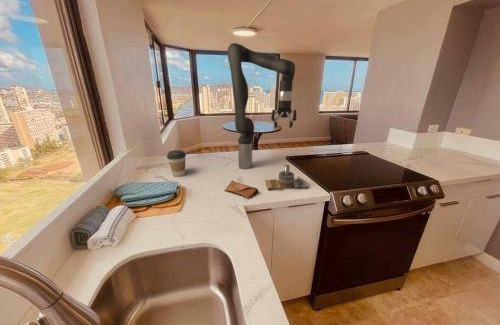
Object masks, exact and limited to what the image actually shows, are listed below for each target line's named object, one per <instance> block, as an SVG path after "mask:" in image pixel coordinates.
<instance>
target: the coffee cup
mask: <svg viewBox="0 0 500 325" xmlns="http://www.w3.org/2000/svg"><path fill="white" fill-rule="evenodd" d="M186 157H187V154H186V152H185V151H184V150H182V149H174V150H170V151H169V152H168V153H167V155H166V159H167V160H168V163H169V166H170V169H171V174H172V175H173V176H174V177H175V178H179V177H183V176H185V174H186Z"/></svg>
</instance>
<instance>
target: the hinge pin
mask: <svg viewBox="0 0 500 325" xmlns="http://www.w3.org/2000/svg"><path fill="white" fill-rule="evenodd" d="M283 168H284V169H283V171H284V175H285V176H289V172H290V168H291V167H290V165H289V164H284V167H283Z"/></svg>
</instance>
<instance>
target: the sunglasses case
mask: <svg viewBox="0 0 500 325" xmlns="http://www.w3.org/2000/svg"><path fill="white" fill-rule="evenodd" d="M223 192H227V193H230V194H233V195H236V196H239V197H241V196H242V197H241V198H244V197H245V198H244V199H246V198H247V200H249V199H250V198H251V199H253V198H254V197H255V196H257V195H258V194H259V193H260V192H259V189H258V188H256V187H253V186H249V185H247V184H244V183H241V182H236V181H234V180H231V181H230V183H228V185H227V186H226V188H225V189H224V190H223ZM257 193H258V194H257ZM256 194H257V195H256ZM253 196H254V197H253ZM252 197H253V198H252ZM251 199H250V200H251Z"/></svg>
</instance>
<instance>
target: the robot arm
mask: <svg viewBox="0 0 500 325" xmlns="http://www.w3.org/2000/svg"><path fill="white" fill-rule="evenodd" d="M227 60H228V64H229V69H230V76H231V85H232V95H233V96H232V97H233V101H234V102H233V104H234V118H235V119H234V125H235V130H236V132H238V134H240V135H239V137H238V139H237V143H238V144H237V148H238V149H237V150H238V168H239V169H242V170H248V169H251V168H252V167H253V140H254V132H255V131H254V130H255V129H254V128H255V127H254V126H255V125H254V121H253V119H252V118H250V117H246V109H247V105H248V101H249V100H248V99H249V87H248V82H247V80H246V77H245V75H244V73H243V67H242V63H250V64H254V65H255V66H258V67H259V68H263V69H266V70H269V71H273V72H277V73H279V74H282V75H281V80H280V81H279V86H278V87H279V88H278V90H279V91H278V98H277V109H272V110H271V119H270V120H271V121H273V122H274V123H273V126H274V128H275V129H277V128H278V120H280V119H282V118H286V119H287V118H288V119H289V125H288V127H289V128H290V129H291V128H292V127H293V124H294V122H295V121H297V110H296V109H292V101H293V81H294V77H295V73H296V64H295V62H294V61H292V60H289V59H284V58H280V57H276V56H275V55H270V54H266V53H262V52H258V51H254V50H251V49H250V48H247V47H246V46H244V45H242V44H239V43H236V42H235V43H234V42H233V43H230V44H229V46H228V48H227ZM276 113H277V116H276V117H275V115H276ZM291 114H292V115H293V116H291Z"/></svg>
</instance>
